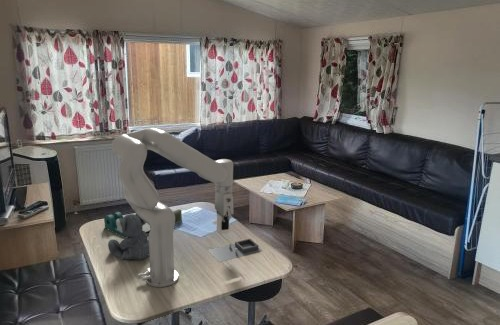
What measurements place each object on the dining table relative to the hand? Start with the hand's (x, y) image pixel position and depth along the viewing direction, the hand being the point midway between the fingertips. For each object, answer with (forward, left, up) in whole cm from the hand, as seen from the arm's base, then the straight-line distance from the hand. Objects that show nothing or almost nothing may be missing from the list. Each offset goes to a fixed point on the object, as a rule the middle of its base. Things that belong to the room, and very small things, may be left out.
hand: (222, 227), depth 172 cm
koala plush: (-35, +20, -14) cm, 42 cm away
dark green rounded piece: (-35, +46, -14) cm, 59 cm away
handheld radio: (-15, +40, -15) cm, 45 cm away
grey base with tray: (+6, 0, -14) cm, 16 cm away
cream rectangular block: (0, 0, -2) cm, 2 cm away
